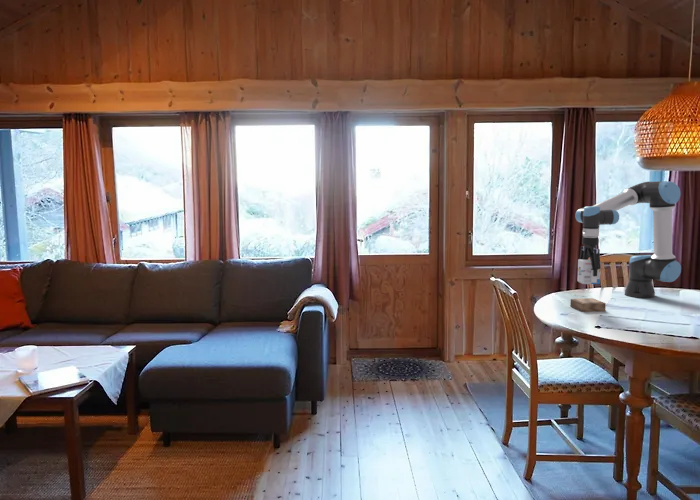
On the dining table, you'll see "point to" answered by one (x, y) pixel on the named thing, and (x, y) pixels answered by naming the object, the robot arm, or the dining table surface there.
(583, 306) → the walnut frame
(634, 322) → the dining table surface
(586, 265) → the ink box
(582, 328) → the dining table surface
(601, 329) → the dining table surface
